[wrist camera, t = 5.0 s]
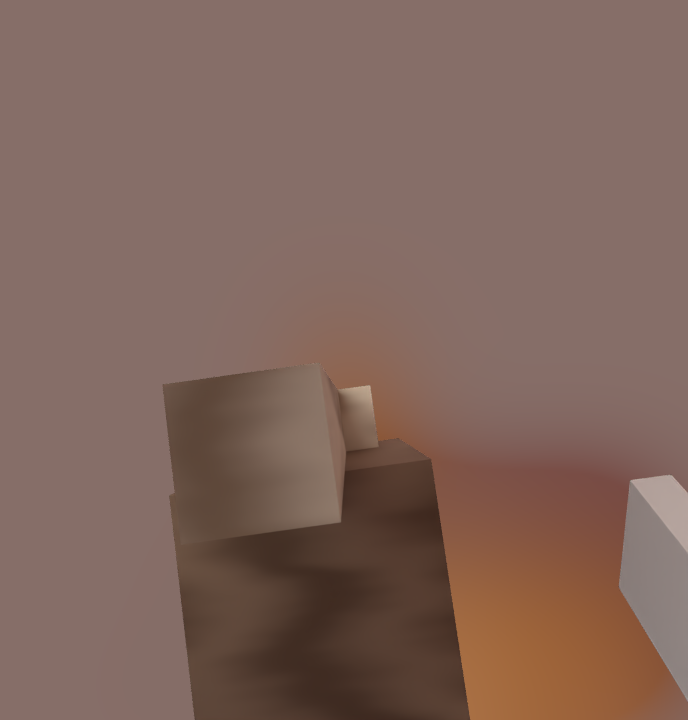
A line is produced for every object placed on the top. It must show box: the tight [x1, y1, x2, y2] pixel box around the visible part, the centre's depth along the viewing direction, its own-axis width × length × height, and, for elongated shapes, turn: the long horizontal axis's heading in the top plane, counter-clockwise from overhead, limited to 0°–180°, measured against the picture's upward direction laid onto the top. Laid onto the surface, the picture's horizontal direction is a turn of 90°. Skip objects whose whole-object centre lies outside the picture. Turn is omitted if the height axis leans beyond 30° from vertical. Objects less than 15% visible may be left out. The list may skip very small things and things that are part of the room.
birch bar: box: [163, 363, 379, 545], centre depth 25 cm, size 7×24×3 cm, turn 0°
